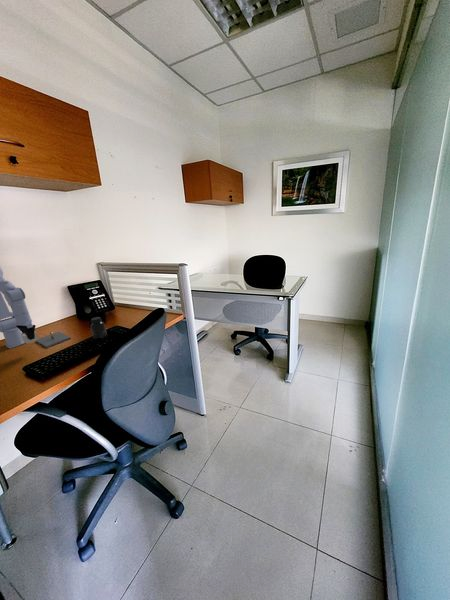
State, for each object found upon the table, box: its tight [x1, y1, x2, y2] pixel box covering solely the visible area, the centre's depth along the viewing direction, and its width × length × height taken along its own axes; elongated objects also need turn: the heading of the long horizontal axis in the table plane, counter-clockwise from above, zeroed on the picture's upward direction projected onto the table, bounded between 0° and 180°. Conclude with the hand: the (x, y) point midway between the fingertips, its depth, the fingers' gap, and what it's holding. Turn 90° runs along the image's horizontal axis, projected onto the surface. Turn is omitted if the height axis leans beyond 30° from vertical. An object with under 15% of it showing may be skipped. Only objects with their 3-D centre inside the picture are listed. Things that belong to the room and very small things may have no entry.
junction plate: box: [35, 331, 71, 349], centre depth 135 cm, size 16×12×5 cm
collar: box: [21, 331, 39, 344], centre depth 121 cm, size 5×5×4 cm
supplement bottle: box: [90, 316, 108, 339], centre depth 132 cm, size 7×7×12 cm
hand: (30, 337), depth 121 cm, fingers closed on collar, 5 cm apart
